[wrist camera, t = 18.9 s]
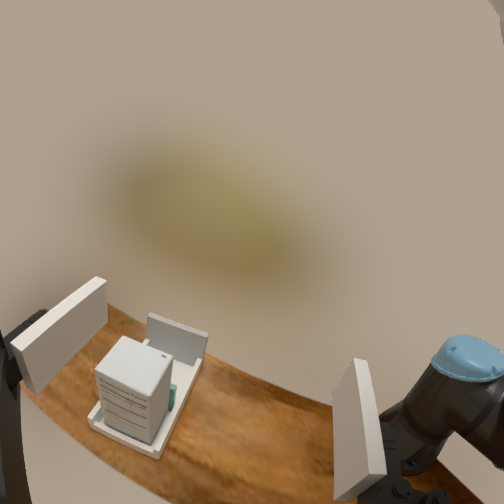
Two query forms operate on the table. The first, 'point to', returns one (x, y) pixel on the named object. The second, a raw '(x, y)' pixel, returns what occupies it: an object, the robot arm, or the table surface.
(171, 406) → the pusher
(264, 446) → the table surface
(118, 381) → the supplement box
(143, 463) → the table surface
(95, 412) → the tray
